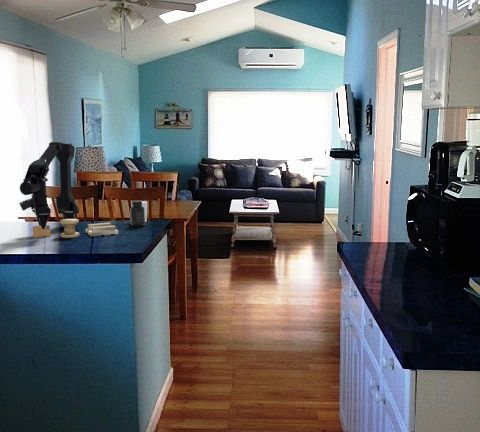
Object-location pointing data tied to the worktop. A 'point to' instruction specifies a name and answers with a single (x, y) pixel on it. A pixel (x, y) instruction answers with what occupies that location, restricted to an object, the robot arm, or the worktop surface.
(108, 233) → the notched board
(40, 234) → the tan rectangular block
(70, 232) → the bobbin
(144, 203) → the white cup
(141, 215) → the supplement bottle
